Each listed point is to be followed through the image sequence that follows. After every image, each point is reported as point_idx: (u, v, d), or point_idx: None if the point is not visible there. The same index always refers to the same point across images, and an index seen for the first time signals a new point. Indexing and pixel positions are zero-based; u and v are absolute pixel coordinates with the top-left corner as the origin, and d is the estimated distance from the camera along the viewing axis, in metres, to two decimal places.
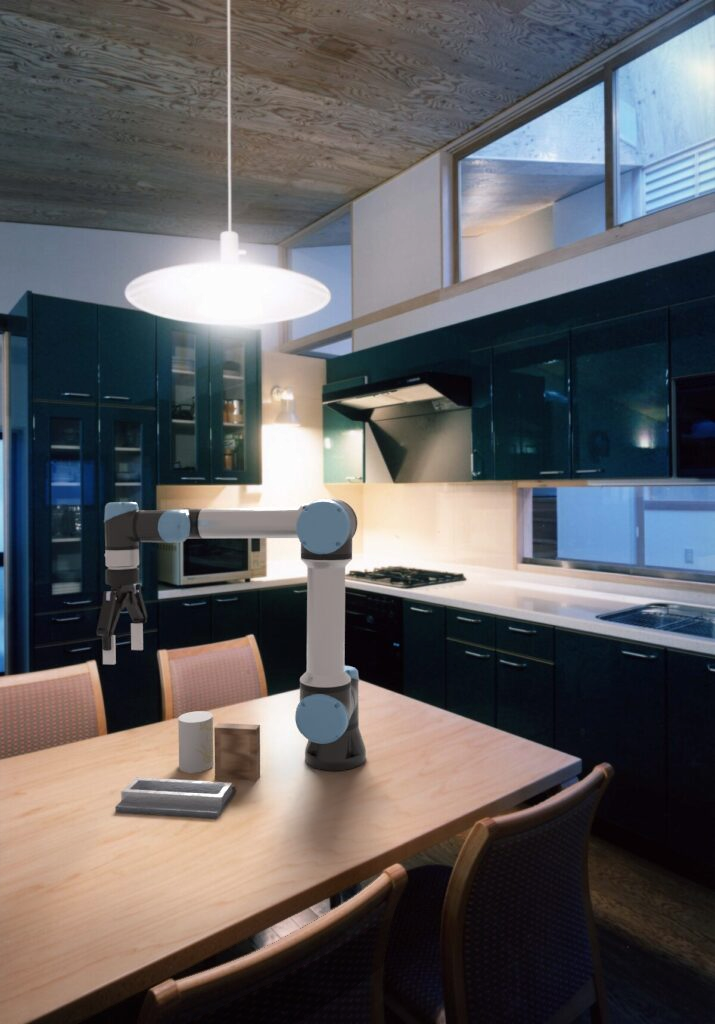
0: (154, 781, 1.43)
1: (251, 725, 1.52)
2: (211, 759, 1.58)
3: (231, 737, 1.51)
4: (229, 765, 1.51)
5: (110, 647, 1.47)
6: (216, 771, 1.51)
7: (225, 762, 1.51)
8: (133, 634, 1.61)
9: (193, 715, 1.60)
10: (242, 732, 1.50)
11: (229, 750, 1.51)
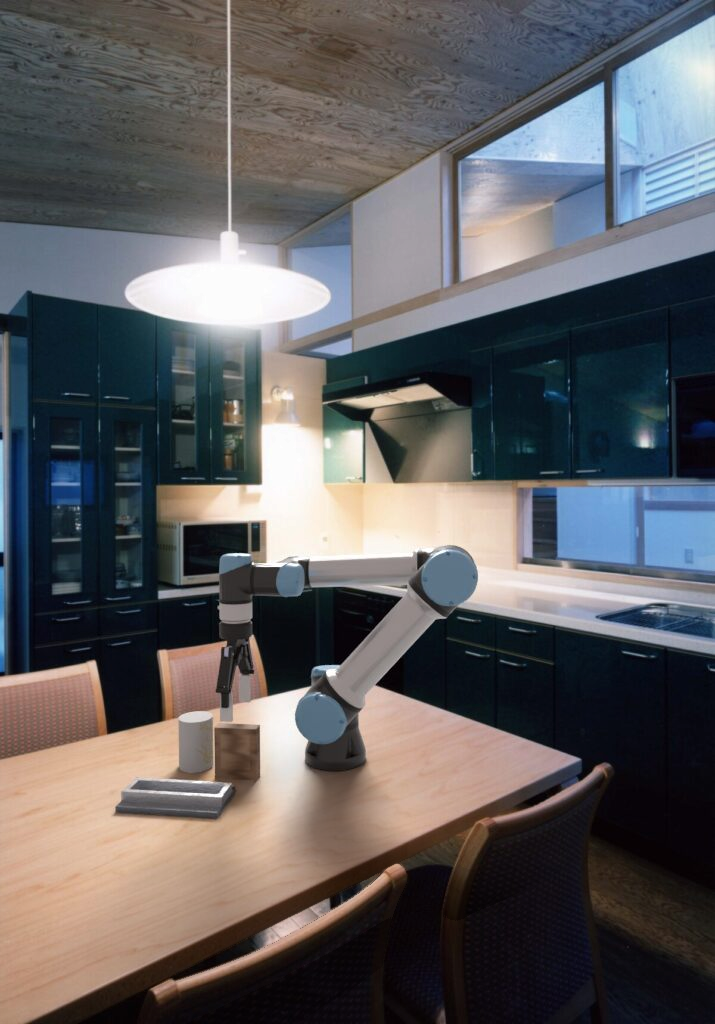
0: (154, 781, 1.43)
1: (251, 725, 1.52)
2: (211, 759, 1.58)
3: (231, 737, 1.51)
4: (229, 765, 1.51)
5: (228, 704, 1.44)
6: (216, 771, 1.51)
7: (225, 762, 1.51)
8: (241, 686, 1.58)
9: (193, 715, 1.60)
10: (242, 732, 1.50)
11: (229, 750, 1.51)
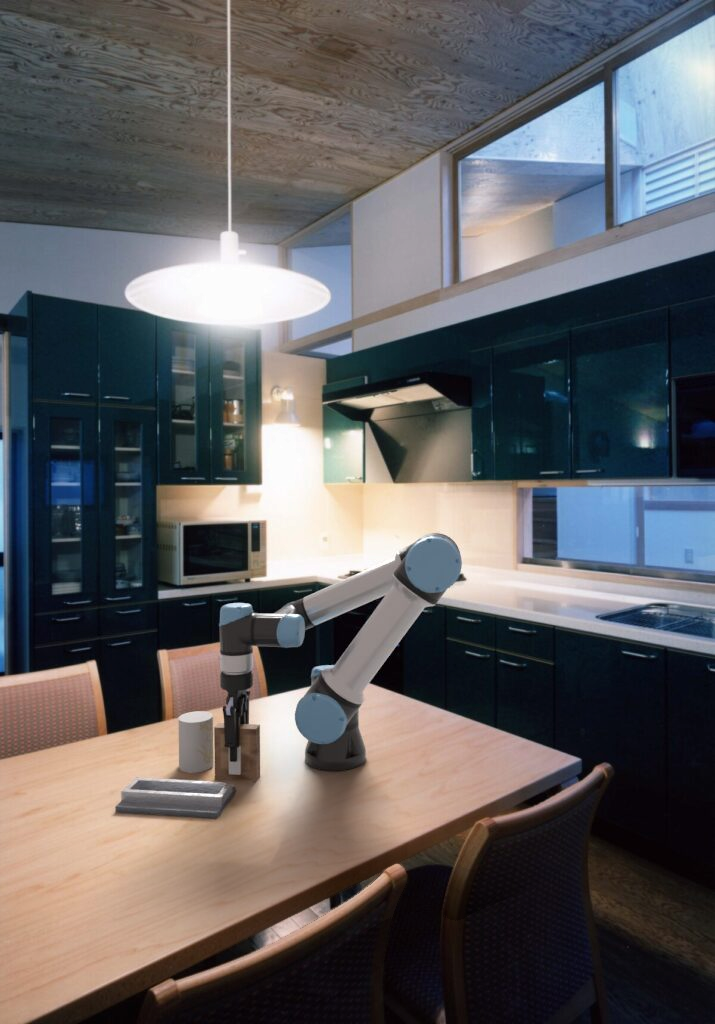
0: (154, 781, 1.43)
1: (251, 725, 1.52)
2: (211, 759, 1.58)
3: None
4: None
5: (237, 758, 1.50)
6: (216, 771, 1.51)
7: (225, 762, 1.51)
8: None
9: (193, 715, 1.60)
10: (242, 732, 1.50)
11: None
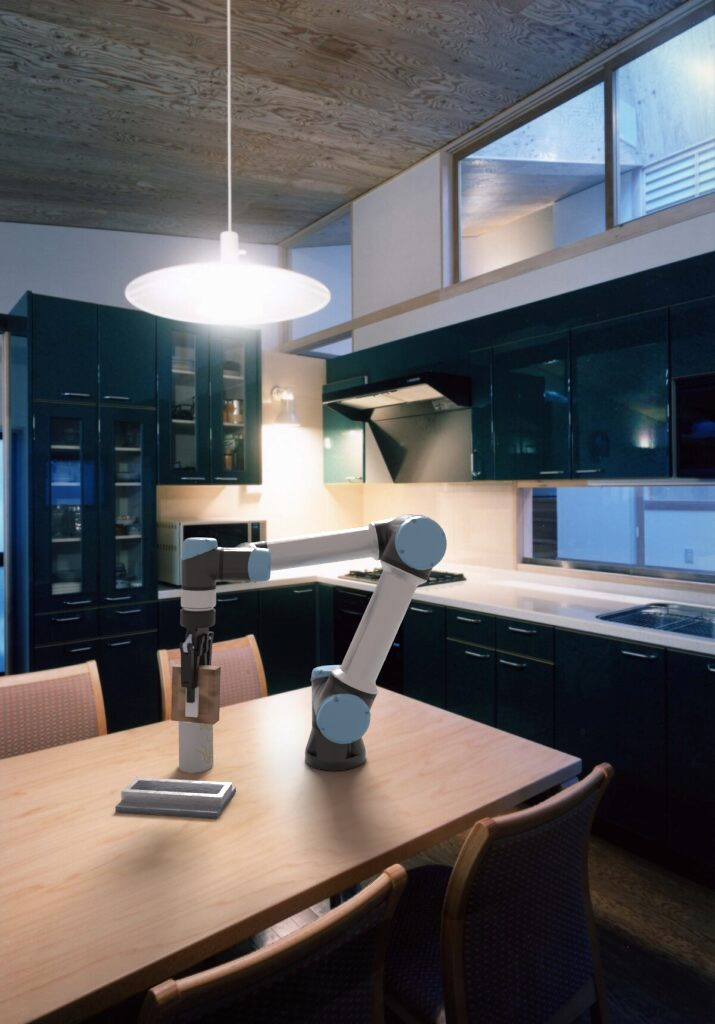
0: (154, 781, 1.43)
1: (211, 666, 1.44)
2: (211, 759, 1.58)
3: None
4: None
5: (194, 699, 1.42)
6: (173, 713, 1.44)
7: (182, 704, 1.43)
8: None
9: None
10: (201, 672, 1.42)
11: None
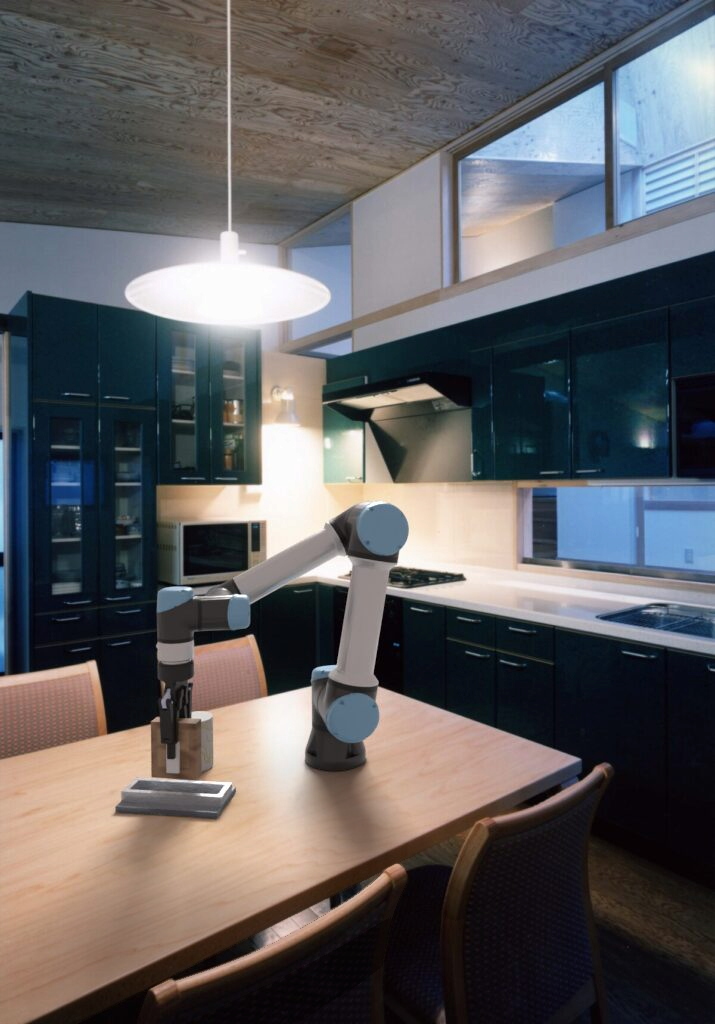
0: (154, 781, 1.43)
1: (191, 719, 1.40)
2: (211, 759, 1.58)
3: None
4: None
5: (175, 755, 1.37)
6: (153, 769, 1.39)
7: (162, 760, 1.39)
8: None
9: (193, 715, 1.60)
10: (181, 727, 1.38)
11: None
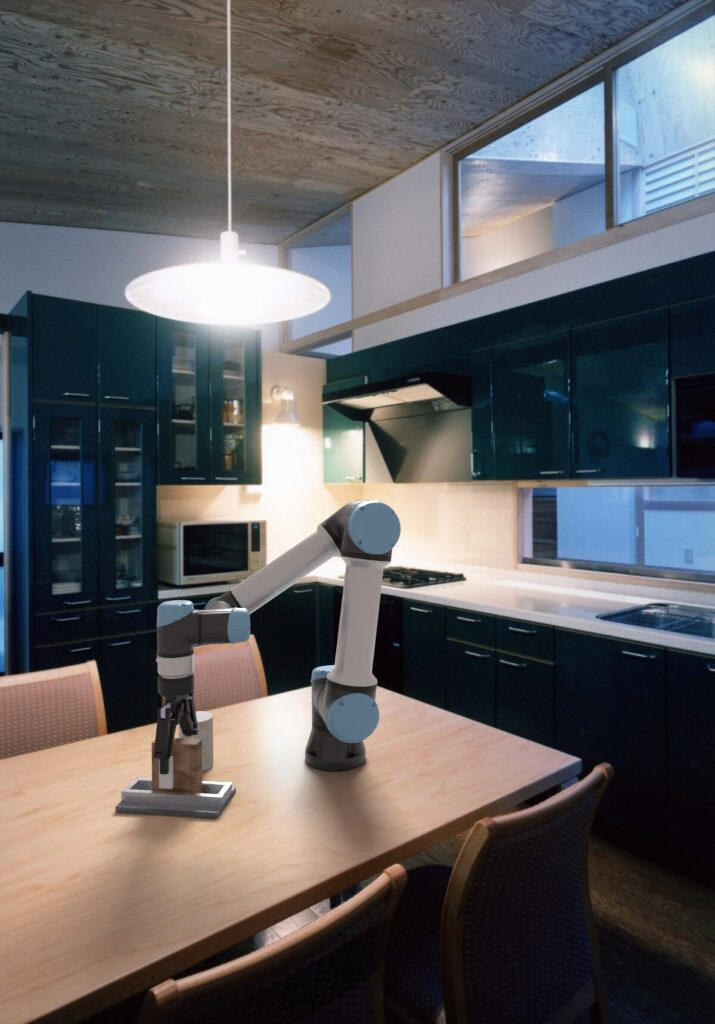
0: None
1: (192, 740, 1.40)
2: (211, 759, 1.58)
3: None
4: None
5: (168, 770, 1.34)
6: (153, 790, 1.39)
7: None
8: None
9: None
10: (181, 747, 1.38)
11: None
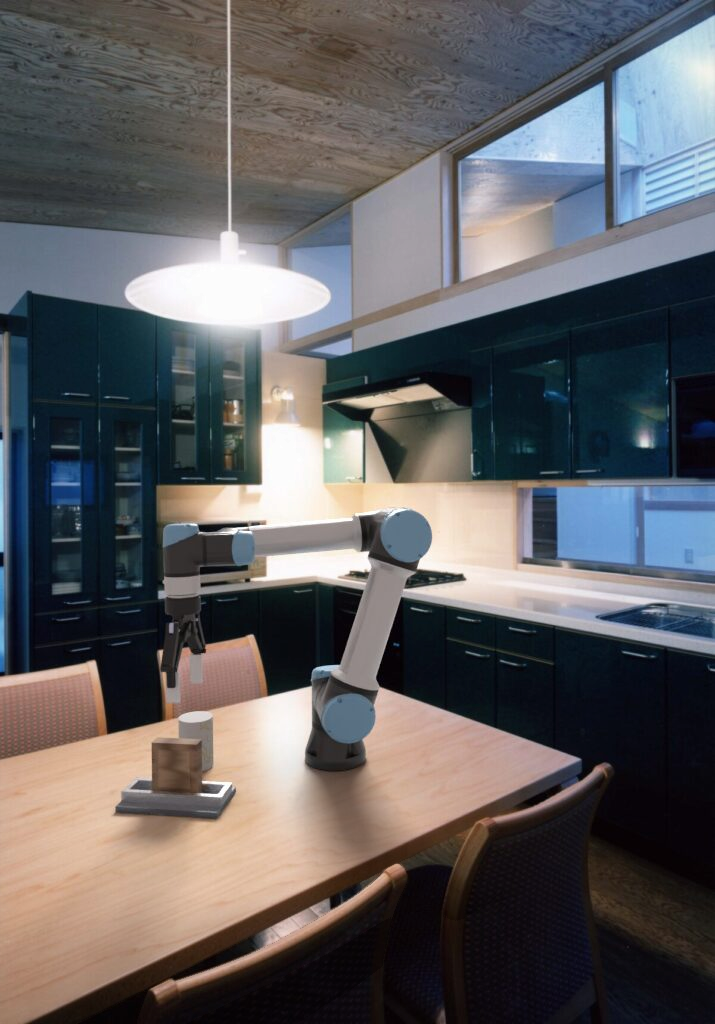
0: None
1: (192, 740, 1.40)
2: (211, 759, 1.58)
3: (170, 753, 1.38)
4: (167, 783, 1.39)
5: (175, 684, 1.34)
6: (153, 790, 1.39)
7: (163, 780, 1.39)
8: (192, 666, 1.48)
9: (193, 715, 1.60)
10: (181, 747, 1.38)
11: (167, 767, 1.39)
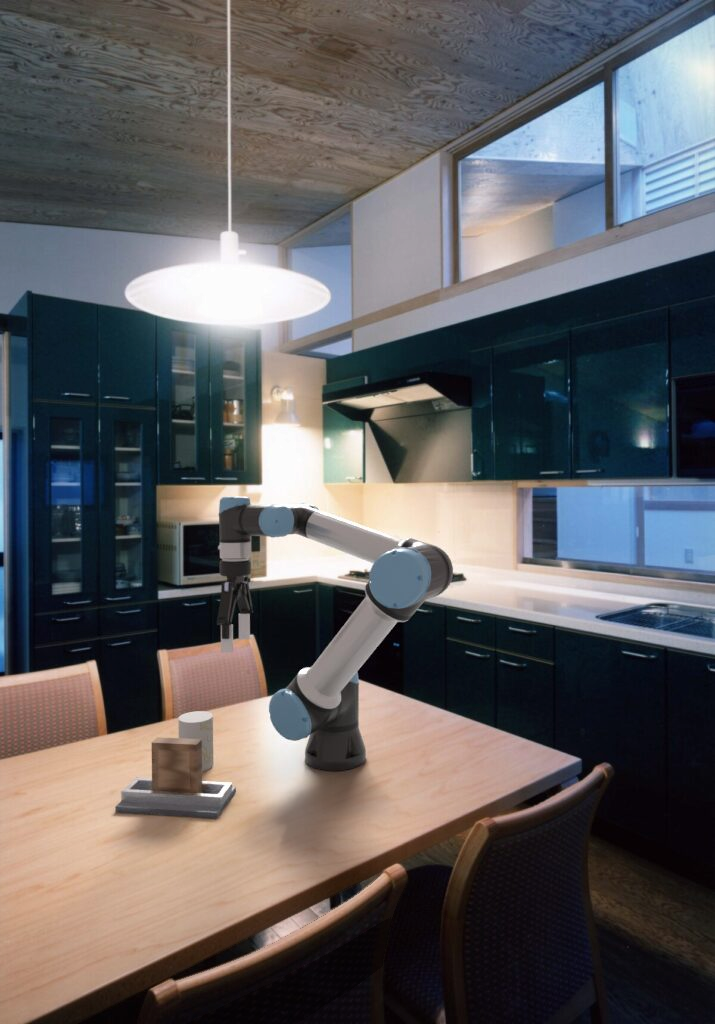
0: None
1: (192, 740, 1.40)
2: (211, 759, 1.58)
3: (170, 753, 1.38)
4: (167, 783, 1.39)
5: (229, 636, 1.53)
6: (153, 790, 1.39)
7: (163, 780, 1.39)
8: (241, 624, 1.67)
9: (193, 715, 1.60)
10: (181, 747, 1.38)
11: (167, 767, 1.39)
